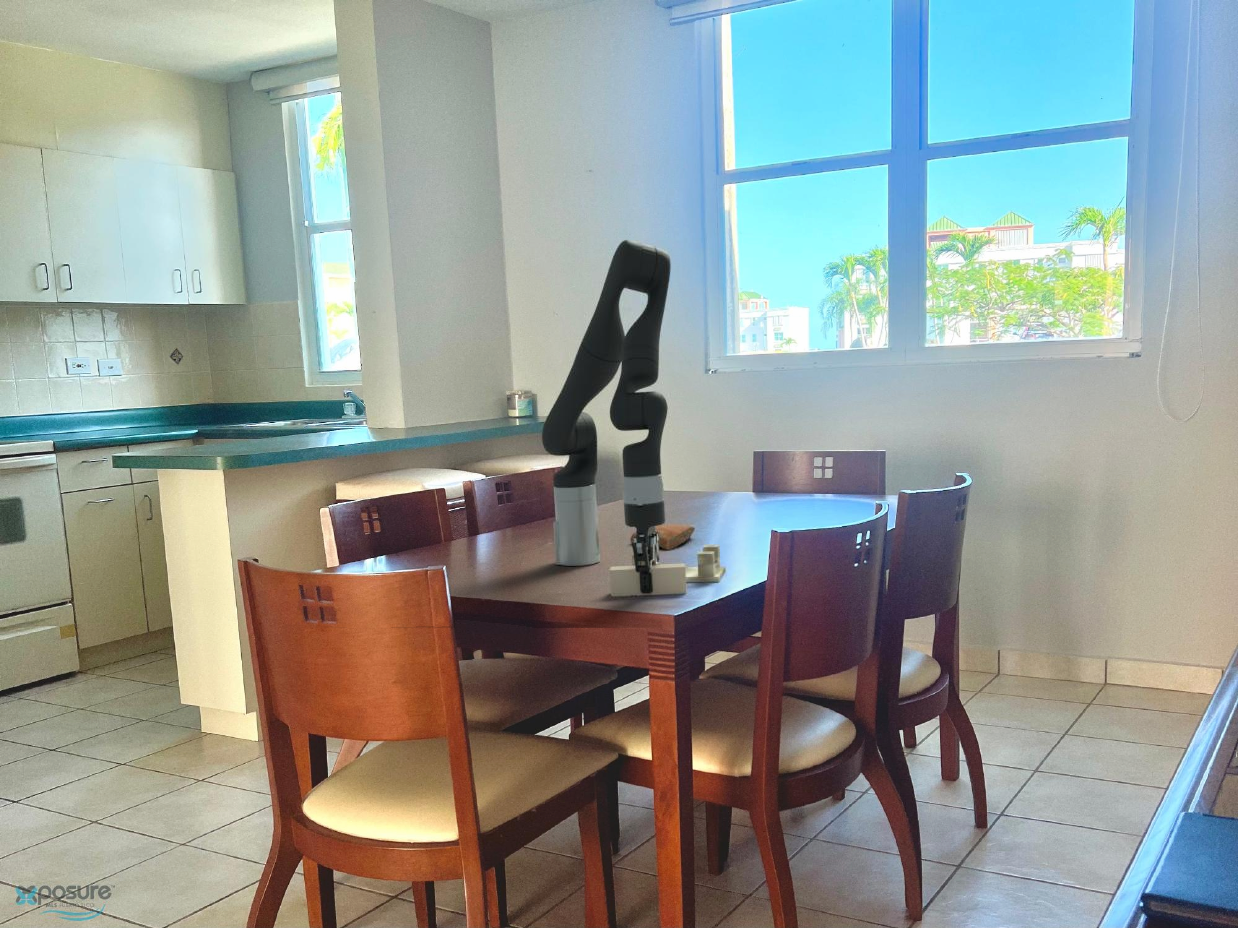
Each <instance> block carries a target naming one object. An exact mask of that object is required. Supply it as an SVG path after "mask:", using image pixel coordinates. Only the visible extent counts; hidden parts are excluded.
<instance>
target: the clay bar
mask: <svg viewBox="0 0 1238 928" xmlns="http://www.w3.org/2000/svg"><path fill="white" fill-rule="evenodd" d="M685 567H686V563H667V564H665V563H664V564H662V563H661V564H658V565H652V584H653V591H652V593H647V594H643V593H641V591H640V573H638V572H636V570H635V566H632V565H624V566H623V565H620V566H619V565H618V566H617V565H616V566H611V567H610V568H609V580H610V596H612V597H630V596H631V595H633V596H631V597H634V595H637V596H653V595H654V596H656V595H681V594H687V593H688V592H687V591H688V590H687V589H688V588H687V582H686V569H685Z"/></svg>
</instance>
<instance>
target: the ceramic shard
mask: <svg viewBox="0 0 1238 928" xmlns="http://www.w3.org/2000/svg"><path fill="white" fill-rule="evenodd" d="M694 531H695V527H694V526H690V525H684V524H662V525H659V526H655V532H659V534H660V535H659V548H661V549H664V550H666V551H670V550H673V549H676V548H677V547H678V546H679V545H681V544H683V543H685V542H686V541H687V540H690V539H691V536H692V535H693V533H694ZM634 536H636V531H634V532H633V533H632V534H631V536H630V538H629V541H630V543H631V544H632V545H633V543H634ZM689 538H690V539H689Z"/></svg>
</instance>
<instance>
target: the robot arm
mask: <svg viewBox="0 0 1238 928" xmlns="http://www.w3.org/2000/svg"><path fill="white" fill-rule="evenodd" d="M671 265H672V263H671V257H670V255H669V253H668V251H667V250H664V249H662V248H659V247H656V246H653V245H648V244H646V243H642V242H639V241H635V240H631V239H625V240H622V241H621V242H620V243H619V245H618V246H617V248H616V249H615V252H614V254H613V257H612V259H611V262H610V265H609V267H608V270H607V274H606V277H605V279H604V284H603V286H602V289H601V293H600V294H599V295H600V296H599V298H598V301H597V304H596V307H595V310H594V312H593V314H592V317H591V319H590V321H589V324H588V326H587V328H586V331H585V333H584V335H583V338H582V339H581V342H580V345H579V347H578V350H577V352H576V355H575V358H574V361H573V364H572V366H571V367H570V370H569V372H568V375H567V377H566V380H565V382H564V384H563V386H562V388H561V391H560V392H559V393H558V396H557V398H556V400H555V402H554V403H553V405H552V407H551V409H550V411H549V413H548V415H547V416H546V417H545V418H546V419H545V421H544V424H543V427H542V431H541V432H542V433H541V441H542V445H543V448H544V450H545V451H546V452H547V454H549V455H551V456H556V457H558V456H561V457H563V456H568V460H567V463H566V464H565V465H564V467H562V468H561V469H559V470H557V471H556V472H555V473H554V474H553V476H552V477H553V478H552V479H553V480H552V485H553V498H554V511H555V512H554V513H555V515H554V516H555V521H553V523H552V527H553V540H554V541H553V543H554V555H555V556H554V557H555V565H557V566H558V565H561V566H567V567H568V566H569V567H570V566H571V567H572V566H574V567H575V566H579V567H580V566H588V565H593V564H597V563H599V562H600V561H601V555H600V554H601V553H600V550H601V549H600V539H599V538H600V537H599V521H598V506H597V505H598V504H597V488H596V475H597V472H598V434H597V433H598V432H597V426H596V423H595V420H594V418H593V417H592V416H591V415H590V414H589V413H587V412H585V411H584V409H585V408H586V407H587V406H588V404H589V403H591V401H592V400H594V399H595V398H596V397H597V396H598V395H599V394H600V393H601V392H602V391H603V390H604V389H605V388H606V387H607V386H608V385H609V384H610V383H611V382H612V381H613V379H614V378H615V376H616V374H617V373H618V371H619V369H621V371H620V375H619V379H618V382H617V383H618V384H617V386H616V389H615V391H614V394H613V397H612V399H611V403H610V407H609V418H610V421H611V423H612V425H613V427H614V428H615V429H616V430H618V431H621V432H630V431H631V432H632V431H645V430H646V431H648V434H647V436H646V438H644V439H643V440H641V441H637V442H633V443H630V444H627V445H625V446H624V447H623V449H622V454H621V455H622V468H623V484H622V486H623V487H622V493H623V495H622V496H623V511H624V524H625V525H626V526H627V527H629V528H635V529H636V530H635V532H636V536H634V543H633V544H632V545H631V547H632V551H633V552H632V553H633V554H634V561H635V570H636V572H638V573H640V591H641V593H643V594H647V593H652V591H653V584H652V565H659V562H660V547H659V535H660V534H659V532H655V526H662V525H665V523H666V513H665V511H666V509H665V508H666V507H665V492H664V490H665V489H664V482H663V477H662V476H663V475H662V465H661V464H662V462H661V461H662V460H661V447H662V440H663V439H662V438H663V433H664V428H665V425H666V421H667V417H668V403H667V400H666V399H667V398H665V396H664V395H663V393H661V392H659V391H656V390H655V391H640V390H642V389H645V388H649V387H651V386H653V385H654V384H655V383H656V382H658V378H659V371H660V370H659V367H660V366H659V365H660V363H659V362H660V361H659V360H660V338H661V331H662V330H661V329H662V324H663V321H664V313H665V309H666V303H667V296H668V292H669V291H668V290H669V285H670V280H671V279H670V278H671V268H672V267H671ZM624 289H627V290H631V291H634V292H638V293H643V294H646V295H647V303H646V305H645V307H644V309H643V311H642V313H641V314H640V316H638V318H637V319H636V320H635V321H634V322H633V324H632V325H631V326H630V328H629V329H628V330H627V332H626V334H625V330H624V326H623V322H622V318H621V313H620V312H621V311H620V299H621V297H622V294H623V291H624ZM620 365H621V366H620ZM620 367H621V368H620ZM654 550H655V551H654ZM633 554H632V555H633ZM642 561H643V565H642Z"/></svg>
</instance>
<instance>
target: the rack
mask: <svg viewBox="0 0 1238 928" xmlns="http://www.w3.org/2000/svg"><path fill="white" fill-rule="evenodd" d="M720 550H721V549H720V544H704V545H703V546H702V551H698V552H697V554H696V556H697V566H685V569H686V583H717V582H718V583H719V582H720V581H721V580H722V578H723V576H724V575H725V573H726V566H721V551H720ZM654 551H655V550H654ZM631 563H632V564H631V566H635V561H634V554H631ZM642 565H643V561H642Z"/></svg>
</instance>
